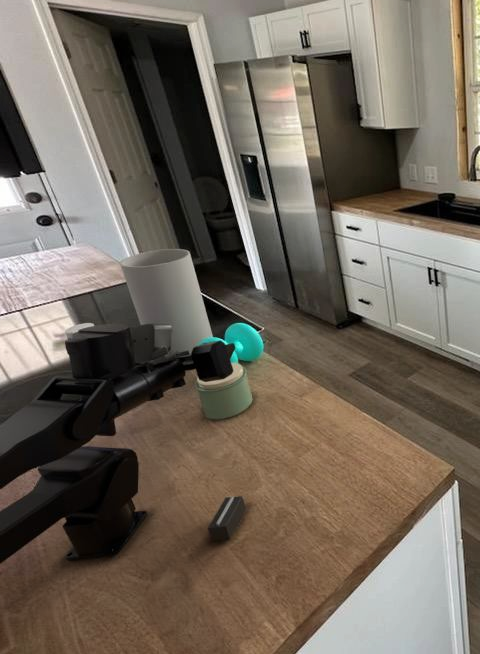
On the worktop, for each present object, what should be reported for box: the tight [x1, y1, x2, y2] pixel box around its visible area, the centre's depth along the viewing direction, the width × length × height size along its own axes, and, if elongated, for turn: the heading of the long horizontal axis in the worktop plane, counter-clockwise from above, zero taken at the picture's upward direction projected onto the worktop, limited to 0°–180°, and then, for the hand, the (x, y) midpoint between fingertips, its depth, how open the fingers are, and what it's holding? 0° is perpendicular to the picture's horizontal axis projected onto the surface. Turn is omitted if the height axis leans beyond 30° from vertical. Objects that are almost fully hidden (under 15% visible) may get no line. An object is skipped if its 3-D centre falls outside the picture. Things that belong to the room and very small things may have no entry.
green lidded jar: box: [194, 362, 254, 420], centre depth 84 cm, size 9×9×8 cm
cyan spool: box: [198, 322, 264, 364], centre depth 96 cm, size 10×10×10 cm
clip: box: [207, 495, 247, 542], centre depth 61 cm, size 5×2×3 cm, turn 8°
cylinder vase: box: [119, 248, 214, 355], centre depth 99 cm, size 12×12×25 cm
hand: (211, 349), depth 77 cm, fingers open, 9 cm apart
